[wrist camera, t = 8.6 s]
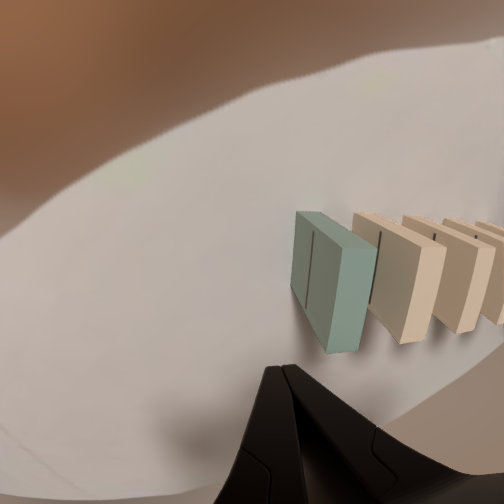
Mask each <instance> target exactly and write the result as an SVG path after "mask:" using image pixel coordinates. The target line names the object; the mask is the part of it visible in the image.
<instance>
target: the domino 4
mask: <svg viewBox="0 0 504 504" xmlns="http://www.w3.org/2000/svg"><path fill="white" fill-rule="evenodd" d="M443 225H444V226H447V227H449V228H451V229H454V230H456V231H459V232H461V233H463V234H466V235H468V236H470V237H473V238H475V239H477V240H480V241H482V242H484V243H486V244H488V245H491V246H493V247H495V248H496V251H495V256H494V260H493V265H492V269H491V273H490V277H489V281H488V285H487V289H486V292H485V296H484V299H483V303H482V306H481V309H480V313H481V314H483V315H484V316H485V317H487V318H488V319H489V320H490V321H492V322H493V323H494V324H496V325H499V324H503V323H504V237H502V236H500V235H497V234H495V233H492V232H490V231H487V230H485V229H482V228H480V227H477V226H475V225H472V224H469V223H467V222H464V221H461V220H459V219H451V218H443Z"/></svg>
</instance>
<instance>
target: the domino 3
mask: <svg viewBox="0 0 504 504" xmlns="http://www.w3.org/2000/svg"><path fill="white" fill-rule="evenodd" d="M402 226H404V227H406V228H408V229H410V230H412V231H415V232H417V233H419V234H421V235H423V236H425V237H427V238H429V239H431V240H433V241H435V242H437V243H439V244H441V245H443V246H445V247H447V250H446V256H445V261H444V266H443V270H442V275H441V279H440V284H439V288H438V292H437V296H436V300H435V304H434V307H433V311H432V314H433V315H434V316H436V317H437V318H438V319H439V320H440V321H441V322H442V323H444V324H445V325H446V326H447V327H448V328H449V329H450V330H452V331H453V332H454V333H455V334H459V333H464V332H468V331H473V330H474V328H475V325H476V322H477V319H478V316H479V313H480V309H481V306H482V303H483V299H484V296H485V292H486V289H487V285H488V281H489V277H490V273H491V269H492V265H493V260H494V256H495V251H496V248H495V247H493V246H491V245H488V244H486V243H484V242H482V241H480V240H477V239H475V238H473V237H470V236H468V235H466V234H463V233H461V232H459V231H456V230H454V229H451V228H449V227H447V226H444V225H442V224H439V223H437V222H434V221H432V220H429V219H427V218H424V217H421V216H412V215H403V221H402Z"/></svg>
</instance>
